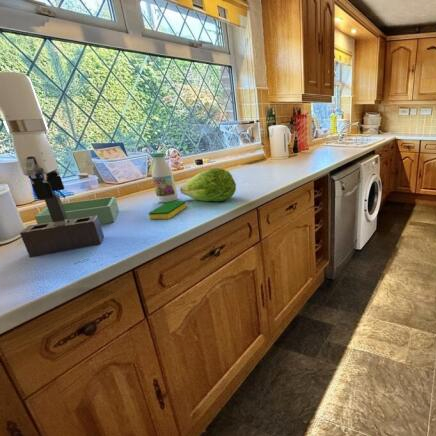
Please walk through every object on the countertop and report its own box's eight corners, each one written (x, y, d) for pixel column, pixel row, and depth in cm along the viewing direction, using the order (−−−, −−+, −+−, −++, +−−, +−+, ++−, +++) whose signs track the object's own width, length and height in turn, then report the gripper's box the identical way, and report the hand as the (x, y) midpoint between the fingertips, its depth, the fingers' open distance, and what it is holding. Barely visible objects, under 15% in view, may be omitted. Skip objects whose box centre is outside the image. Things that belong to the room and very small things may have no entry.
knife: (62, 249, 84) (43, 197, 79) (64, 245, 86) (46, 195, 81) (74, 246, 85) (56, 195, 80) (76, 243, 87) (58, 193, 82)
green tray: (41, 233, 96) (34, 216, 94) (54, 220, 108) (49, 205, 106) (114, 221, 104) (109, 206, 102) (119, 210, 116) (115, 196, 114)
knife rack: (29, 257, 80) (19, 232, 77) (37, 248, 85) (28, 225, 82) (100, 244, 86) (93, 221, 84) (104, 236, 91) (97, 215, 89)
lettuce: (200, 195, 138) (187, 167, 131) (244, 191, 129) (232, 161, 123) (178, 211, 126) (162, 181, 119) (225, 208, 117) (210, 176, 111)
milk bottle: (162, 198, 132) (151, 151, 125) (180, 197, 132) (171, 151, 126) (154, 203, 124) (143, 154, 118) (174, 202, 125) (163, 153, 118)
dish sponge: (187, 206, 118) (185, 200, 117) (169, 218, 105) (168, 212, 104) (169, 207, 118) (167, 201, 117) (149, 219, 105) (147, 212, 104)
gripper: (20, 127, 80) (44, 189, 86) (-10, 130, 66) (21, 204, 72) (56, 125, 83) (77, 185, 89) (34, 127, 69) (61, 199, 75)
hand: (52, 194), depth 80 cm, fingers open, 9 cm apart
